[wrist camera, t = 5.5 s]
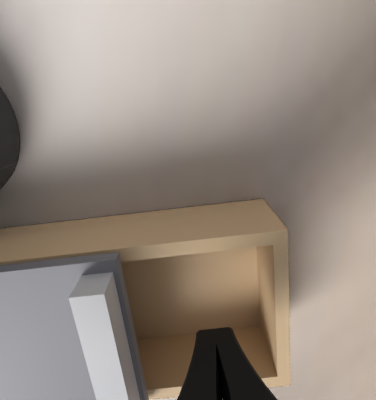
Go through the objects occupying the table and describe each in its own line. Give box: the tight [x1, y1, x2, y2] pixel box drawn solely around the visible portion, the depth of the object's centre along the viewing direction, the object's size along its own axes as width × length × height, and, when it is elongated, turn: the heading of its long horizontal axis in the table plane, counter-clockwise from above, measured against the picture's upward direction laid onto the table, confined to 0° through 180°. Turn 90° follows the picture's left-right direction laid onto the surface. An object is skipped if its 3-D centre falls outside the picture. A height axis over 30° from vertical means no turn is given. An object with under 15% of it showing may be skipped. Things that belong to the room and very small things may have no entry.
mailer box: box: [0, 199, 291, 400], centre depth 16 cm, size 14×8×4 cm, turn 96°
